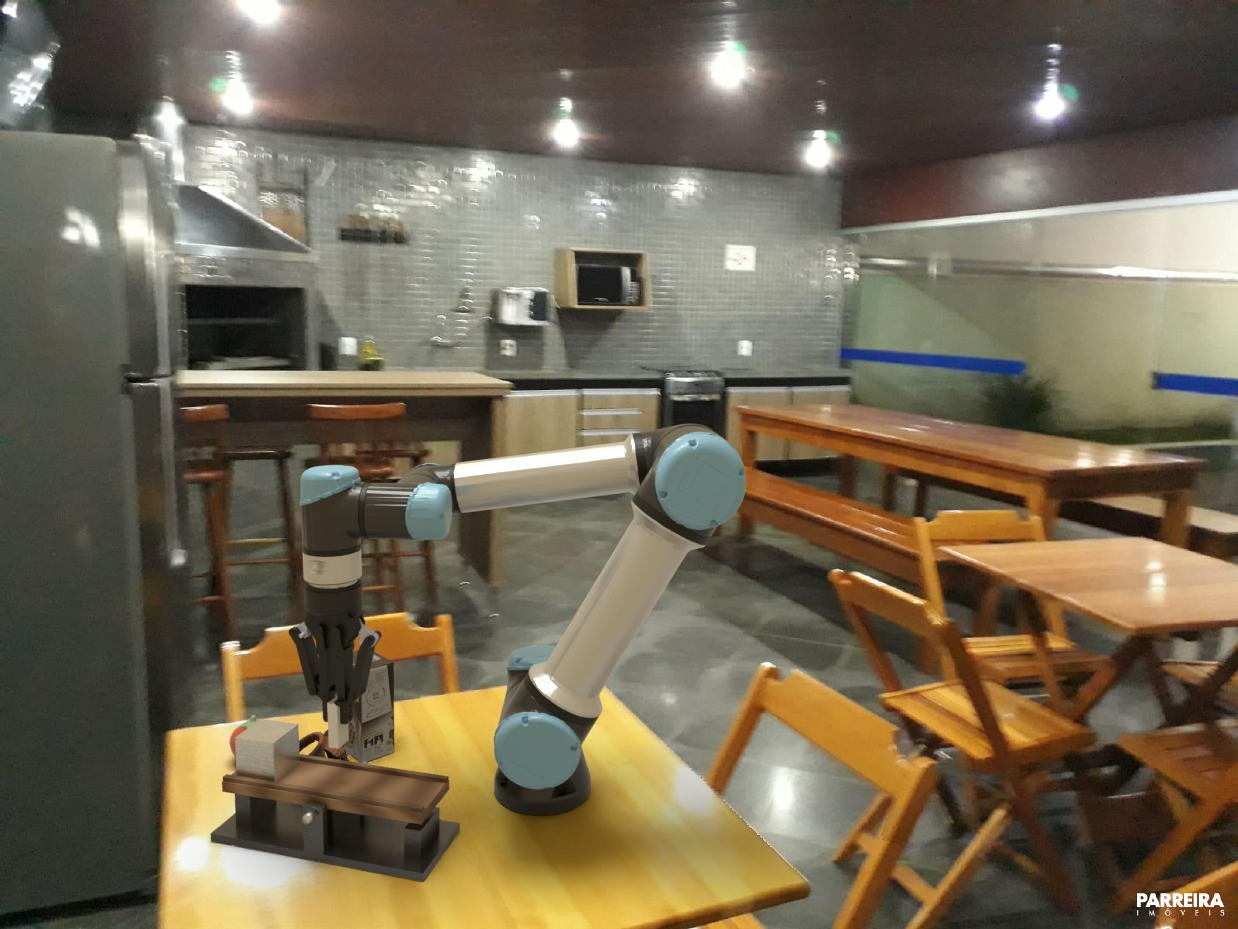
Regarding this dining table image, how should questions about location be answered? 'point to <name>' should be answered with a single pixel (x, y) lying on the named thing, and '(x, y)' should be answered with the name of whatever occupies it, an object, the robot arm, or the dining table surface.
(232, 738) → the tomato
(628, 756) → the dining table surface
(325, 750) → the brown spiky open ring
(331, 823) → the pivot stand
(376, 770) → the seesaw beam
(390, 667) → the coffee box
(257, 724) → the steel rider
